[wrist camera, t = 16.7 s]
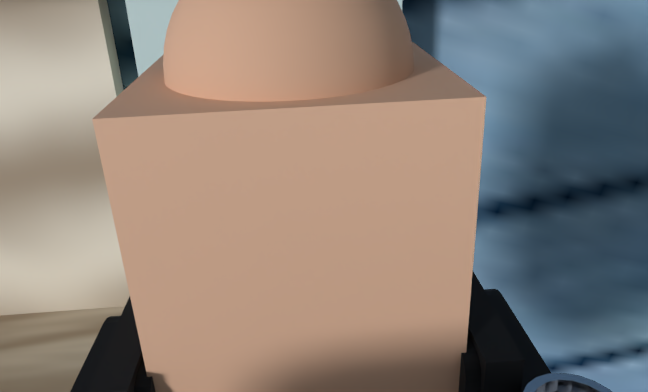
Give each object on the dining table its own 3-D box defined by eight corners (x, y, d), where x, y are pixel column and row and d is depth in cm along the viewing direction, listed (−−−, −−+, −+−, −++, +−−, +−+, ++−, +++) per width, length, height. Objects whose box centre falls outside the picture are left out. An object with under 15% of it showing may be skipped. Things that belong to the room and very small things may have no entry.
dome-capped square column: (145, -58, 9) (52, -59, 5) (415, -69, 9) (500, -78, 5) (235, 528, 14) (220, 716, 11) (401, 513, 14) (439, 694, 11)
